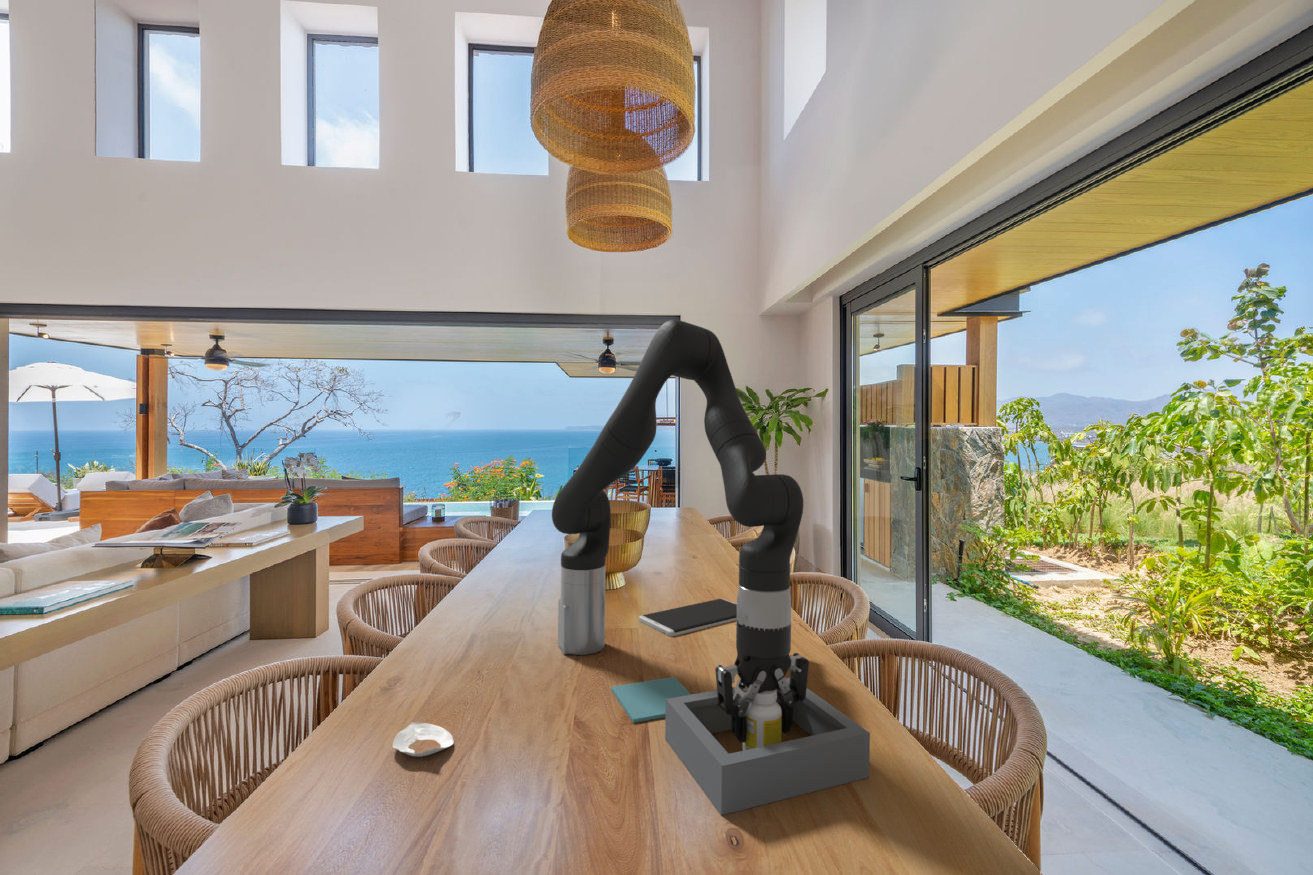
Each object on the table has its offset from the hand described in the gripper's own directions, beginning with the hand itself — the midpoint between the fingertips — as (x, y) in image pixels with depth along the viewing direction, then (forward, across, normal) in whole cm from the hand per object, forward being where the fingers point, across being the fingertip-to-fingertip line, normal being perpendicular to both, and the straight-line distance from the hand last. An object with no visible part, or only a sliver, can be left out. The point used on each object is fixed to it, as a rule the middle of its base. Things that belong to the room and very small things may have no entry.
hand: (762, 734), depth 82 cm
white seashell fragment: (+4, +45, -19) cm, 49 cm away
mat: (+3, +8, -21) cm, 23 cm away
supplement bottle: (+3, 0, 0) cm, 3 cm away
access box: (+3, 0, 0) cm, 3 cm away
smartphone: (+4, -17, -57) cm, 60 cm away
